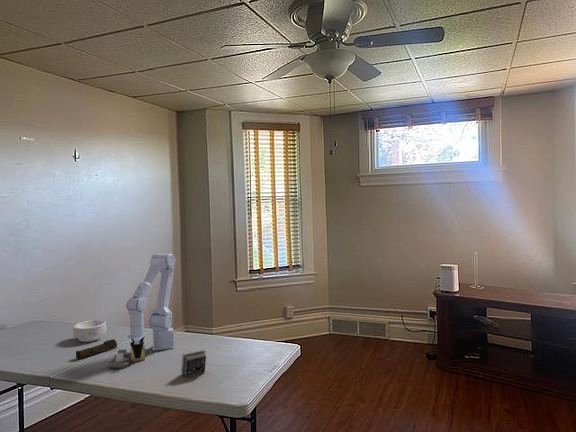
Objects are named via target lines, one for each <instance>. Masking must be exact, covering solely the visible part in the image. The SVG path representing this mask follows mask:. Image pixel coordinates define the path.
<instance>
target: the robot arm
mask: <svg viewBox="0 0 576 432" xmlns="http://www.w3.org/2000/svg"><path fill="white" fill-rule="evenodd" d="M176 261H177V260H176V257H175V255H174V254H173V253H156V252H155V253H153V254H152V255H151V258H150V259H149V263H150V266H149V267H148V270H147V273H146V275H145V278H144V280H143V281H141V282H140V283H139V284H138V286H137V288H136V289H135V291H134V293H133V294H132V296H131V297H130V298H129V299H128V300H127V302H126V305H125V309H127V313H128V315H129V331H130V332H129V333H130V334H128V335H127V339H131V342H129V344H130V348H131V347H132V349H133V352H134V356H135V359H137V358H140V357H141V351H142V347H143V345H145V341H144V340H145V335H146V334H145V320H144V319H145V318H144V317H145V316H144V310H145V309H146V307H147V301H148V296H149V295H150V293H151V290H152V289H153V287H152V284H153V282H154V280H155V279H156V277H157V275H158V274H159V273H160V274H161V275H160V282H159V289H158V294H157V301H156V306H155V308H154V309H152V310H151V311H150V312H151V313H150V316H149V318H148V325H149V327H150V329H151V330H152V343H153V344H152V351H153V352H155V351H161V350H170V349H175V337H174V327H172V325H173V312H172V311H171V310H170V309H169V304H170V296H171V290H172V284H173V279H174V272H175V267H176Z"/></svg>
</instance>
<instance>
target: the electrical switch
mask: <svg viewBox="0 0 576 432" xmlns="http://www.w3.org/2000/svg"><path fill="white" fill-rule="evenodd" d="M206 361H207V355H206V350H205V349H204V348H203V349H198V350H193V351H189V352H184V353H183V354H182V355H181V368H180V373H181V375H182V376H183V375H184V376H185V377H186V378H187V377H189V378H190V377H193V376H197V375H201V374H204V373H205V371H206Z"/></svg>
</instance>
